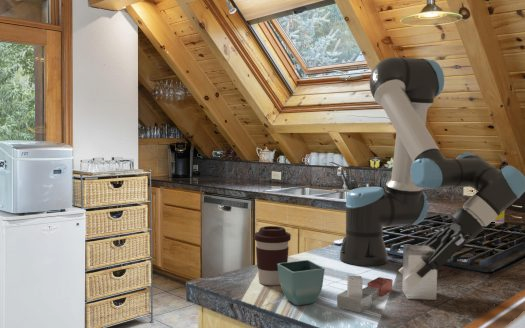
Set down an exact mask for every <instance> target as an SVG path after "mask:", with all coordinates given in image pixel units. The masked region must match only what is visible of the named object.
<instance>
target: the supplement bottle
mask: <svg viewBox="0 0 525 328" xmlns="http://www.w3.org/2000/svg"><path fill="white" fill-rule="evenodd" d="M505 211H506V209H505V210H504V211H502V212H501V213H500V215H499V216H497V217H496V218H495V219H494V220H495V223H494V224H495V225H496V224H499V225H501V224H502V225H503V224H504V223H505Z"/></svg>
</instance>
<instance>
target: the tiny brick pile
mask: <svg viewBox="0 0 525 328" xmlns="http://www.w3.org/2000/svg"><path fill="white" fill-rule="evenodd" d="M346 282H347V284H346V285H347V287H346V290H344V291H342V292H340V293H338V294H337V296H336V308H337V307H339V308H338V309H341V308H344V309H343V310H345V309H347V310H346V311H350V310H352V311H351V312H354V311H355V312H354V313H358V312H359V313H358V314H361V313H363V312H364V311H366V310H368V309H369V308H371V307H372V302H373V301H375V300H376V299H378V298H380V297H383V296H385V295H386V294H388V293H390V292H391V291H393V279H391V278H386V277H380V276H378V277H377V278H374V279H373V280H371V281H369V282H367V286H365V287H363V277H362V276H361V275H347V281H346Z"/></svg>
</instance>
